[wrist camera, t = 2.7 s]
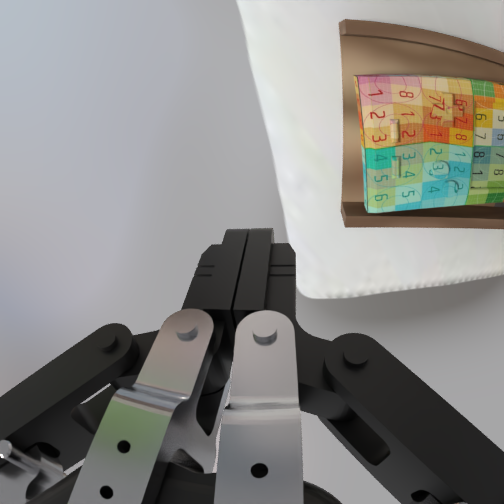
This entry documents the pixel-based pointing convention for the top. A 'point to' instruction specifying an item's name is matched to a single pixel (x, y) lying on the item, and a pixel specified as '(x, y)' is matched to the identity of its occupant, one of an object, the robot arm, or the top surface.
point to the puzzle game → (430, 141)
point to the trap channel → (407, 62)
